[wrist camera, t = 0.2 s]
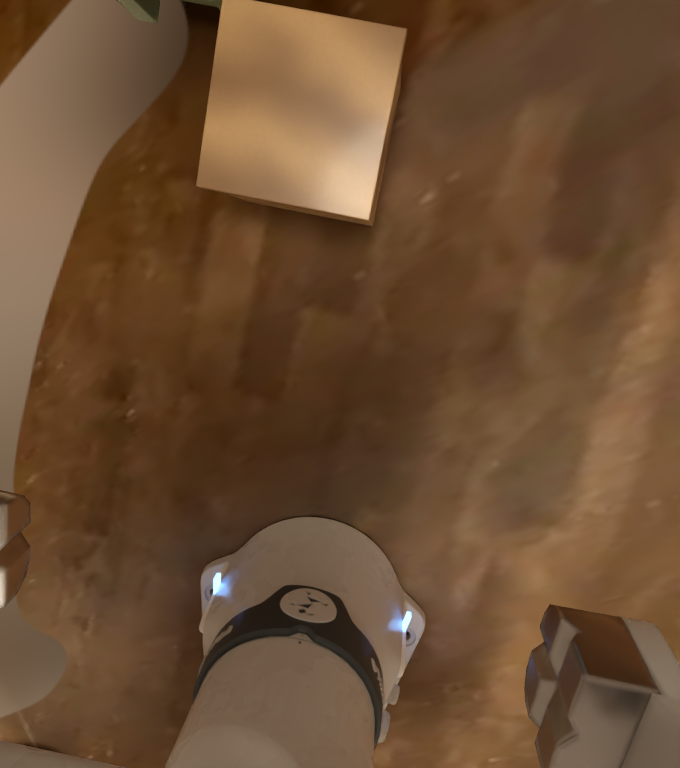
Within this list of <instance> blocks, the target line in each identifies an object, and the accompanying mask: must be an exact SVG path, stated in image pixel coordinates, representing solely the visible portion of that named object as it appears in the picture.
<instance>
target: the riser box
mask: <svg viewBox="0 0 680 768" xmlns="http://www.w3.org/2000/svg"><path fill="white" fill-rule="evenodd" d="M406 37H407V29H406V28H401V27H395V26H390V25H384V24H379V23H374V22H368V21H363V20H357V19H352V18H347V17H341V16H336V15H330V14H325V13H320V12H314V11H309V10H303V9H298V8H293V7H287V6H282V5H276V4H271V3H265V2H260V1H255V0H222V5H221V12H220V19H219V26H218V33H217V40H216V48H215V55H214V62H213V69H212V76H211V83H210V90H209V97H208V104H207V111H206V118H205V126H204V133H203V140H202V147H201V154H200V161H199V168H198V175H197V182H196V187H198V188H201V189H206V190H211V191H216V192H221V193H225V194H228V195H231V196H233V197H236V198H239V199H241V200H244V201H247V202H252V203H257V204H262V205H267V206H272V207H277V208H282V209H287V210H292V211H297V212H303V213H308V214H313V215H318V216H323V217H328V218H333V219H338V220H343V221H348V222H353V223H358V224H363V225H368V226H373V223H374V218H375V213H376V208H377V203H378V198H379V193H380V188H381V183H382V178H383V173H384V168H385V163H386V158H387V153H388V148H389V143H390V138H391V133H392V128H393V123H394V118H395V113H396V108H397V103H398V98H399V93H400V85H401V62H402V57H403V52H404V47H405V42H406Z"/></svg>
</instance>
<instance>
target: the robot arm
mask: <svg viewBox="0 0 680 768" xmlns="http://www.w3.org/2000/svg"><path fill="white" fill-rule="evenodd" d="M30 522H31V515H30V502H29V501H28V499H27V498H26V497H25V496H24V495H19V494H15V493H10V492H6V491H1V490H0V608H2V607H5V606H6V605H7V604H8V603H9V602H10V601H11V599H12V598H13V597H14V596H15V595H16V594H17V592H18V590H19V588H20V586H21V584H22V582H23V581H24V579H25V577H26V573H27V569H28V565H29V561H30V546H29V544H28V543H27V541H26V539H25V538H24V536H23V535H22V533H21V531H22V530H23V529H24V528H25V527H26V526H27V525H28V524H29V523H30ZM200 584H201V604H202V619H201V622H200V626H199V631H200V632H201V633H203V653H204V659H203V661H202V663H201V666H200V668H199V672H198V675H197V677H198V678H197V681H196V684H195V686H194V691H193V701H192V707H191V709H190V712H189V714H188V716H187V718H186V721H185V723H184V725H183V727H182V730H181V732H180V734H179V736H178V738H177V741H176V743H175V745H174V747H173V750H172V752H171V754H170V756H169V758H168V761H167V763H166V765H165V768H374V750H375V748H376V745H377V743H382V742H383V741H384V739H385V737H386V735H387V731H388V728H389V723H390V713H388V711H385V708H386V706H387V704H388V703H389V704H392V705H395V704H396V702H397V700H398V696H399V692H400V687H399V686H398V685H397V684H398V682H399V680H400V678H401V677H402V676H403V673H404V670H405V668H406V666H407V664H408V662H409V660H410V658H411V656H412V654H413V652H414V650H415V648H416V646H417V644H418V642H419V640H420V638H421V636H422V634H423V632H424V629H425V622H426V617H425V614H424V612H423V610H422V609H421V607H420V606H419V605H418V604H417V603H416V602H415V601H414V600H413V599H412V598H411V597H410V596H409V595H407V594H406V593H405V592H404V590H403V589H402V587H401V585H400V583H399V581H398V579H397V576H396V574H395V572H394V569H393V567H392V565H391V563H390V562H389V560H388V558H387V557H386V556H385V554H384V553H383V552H382V550H381V549H380V548H379V547H378V546H377V545H376V544H375V543H374V542H373V541H372V540H371V539H370V538H368V537H367V536H366V535H364V534H363V533H361V532H360V531H358V530H356V529H355V528H353V527H351V526H349V525H346V524H344V523H341V522H338V521H335V520H331V519H326V518H319V517H298V518H292V519H287V520H283V521H280V522H277V523H275V524H272V525H270V526H268V527H266V528H265V529H263V530H261V531H260V532H258V533H257V534H256V535H254V536H253V537H252V538H251V539H250V540H249V541H248V542H247V543H246V544H245V545H244V546H243V547H241V548H240V549H239V550H238V551H236V552H235V553H234V554H231V555H228V556H225V557H222V558H219V559H217V560H214V561H212V562H210V563H209V564H207V565H206V566H205V568H204V570H203V572H202V575H201V579H200ZM540 629H541V633H542V636H543V639H544V642H543V643H542V644H540V645H539V646H538V647H536V648H535V649H533V650H532V652H531V655H530V658H529V662H528V665H527V669H526V678H525V688H524V689H525V702H526V707H527V712H528V716H529V718H530V719H531V720H532V721H533V722H534V723H535V724H536V725H537V727H538V728H539V732H538V735H537V738H536V741H535V745H536V749H537V753H538V757H539V762H540V766H541V768H680V664H679V663H678V661H677V659H676V658H675V656H674V654H673V652H672V651H671V649H670V647H669V646H668V644H667V642H666V641H665V639H664V637H663V635H662V634H661V632H660V630H659V629H658V627H657V626H655V625H654V624H653V623H651V622H649V621H643V620H637V619H631V618H625V617H619V616H617V617H616V616H611V615H605V614H600V613H594V612H589V611H583V610H578V609H572V608H567V607H561V606H556V605H551V604H550V605H549V607H548V608H547V610H546V611H545V613H544V616H543V618H542V621H541V624H540ZM406 631H408V632H409V634H408V635H406ZM0 768H126V767H122V766H117V765H113V764H108V763H104V762H99V761H94V760H90V759H85V758H81V757H76V756H71V755H67V754H62V753H58V752H53V751H48V750H44V749H39V748H35V747H30V746H26V745H21V744H16V743H12V742H7V741H3V740H0Z"/></svg>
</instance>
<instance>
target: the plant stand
mask: <svg viewBox="0 0 680 768" xmlns="http://www.w3.org/2000/svg"><path fill="white" fill-rule="evenodd" d="M117 1H118V2H119V3H121V5H122V6H124V7H125V8H126V9H127V10H128V11H129V12H130V13H131V14H132V15H133V16H134V17H135V18H136V19H138V20H142V21H147V22H152V23H157V21H158V14H159V5H160V1H159V0H117ZM181 1H187V2H192V3H198V4H203V5H208V6H214V7H218V8H219V10H220V11H221V5H222V0H181Z"/></svg>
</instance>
